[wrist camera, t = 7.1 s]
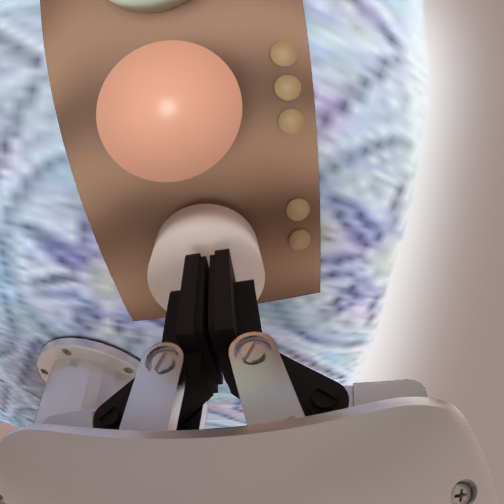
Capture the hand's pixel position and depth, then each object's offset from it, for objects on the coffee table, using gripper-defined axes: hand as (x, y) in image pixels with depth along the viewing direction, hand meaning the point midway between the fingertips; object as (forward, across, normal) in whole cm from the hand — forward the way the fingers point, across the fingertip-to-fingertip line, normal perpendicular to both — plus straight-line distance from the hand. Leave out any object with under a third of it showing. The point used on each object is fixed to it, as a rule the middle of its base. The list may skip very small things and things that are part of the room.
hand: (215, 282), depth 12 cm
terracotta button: (+3, +1, -6) cm, 7 cm away
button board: (+6, +1, -6) cm, 9 cm away
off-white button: (+3, +1, +1) cm, 3 cm away
